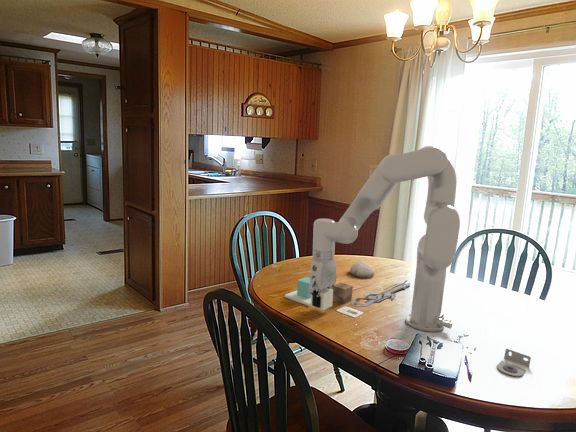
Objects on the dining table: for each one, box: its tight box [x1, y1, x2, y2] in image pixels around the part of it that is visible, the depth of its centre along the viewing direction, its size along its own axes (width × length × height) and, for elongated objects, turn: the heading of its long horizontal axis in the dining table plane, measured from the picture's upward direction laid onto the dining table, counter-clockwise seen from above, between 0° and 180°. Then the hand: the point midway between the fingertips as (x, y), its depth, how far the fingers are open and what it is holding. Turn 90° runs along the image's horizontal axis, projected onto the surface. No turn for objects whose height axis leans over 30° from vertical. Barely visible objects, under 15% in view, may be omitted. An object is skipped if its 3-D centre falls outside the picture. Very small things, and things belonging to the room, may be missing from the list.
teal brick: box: [296, 276, 317, 299], centre depth 162 cm, size 6×6×6 cm
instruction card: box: [335, 305, 365, 319], centre depth 151 cm, size 8×6×1 cm
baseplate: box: [284, 289, 312, 307], centre depth 163 cm, size 12×12×1 cm
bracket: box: [496, 348, 532, 377], centre depth 118 cm, size 7×10×4 cm, turn 137°
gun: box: [350, 280, 411, 308], centre depth 170 cm, size 39×2×10 cm
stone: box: [349, 259, 376, 279], centre depth 195 cm, size 13×10×8 cm
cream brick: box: [310, 288, 334, 311], centre depth 150 cm, size 6×6×6 cm
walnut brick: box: [332, 282, 354, 305], centre depth 161 cm, size 6×6×6 cm
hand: (321, 303), depth 150 cm, fingers closed on cream brick, 5 cm apart
